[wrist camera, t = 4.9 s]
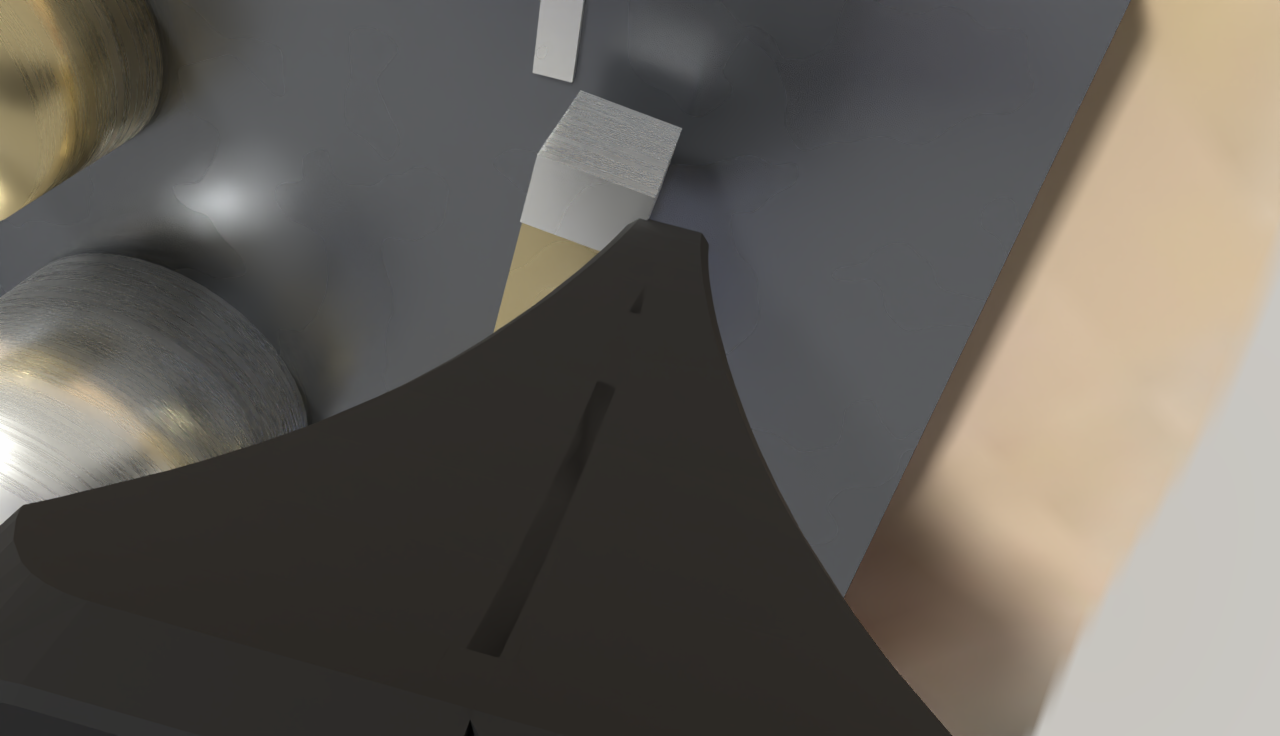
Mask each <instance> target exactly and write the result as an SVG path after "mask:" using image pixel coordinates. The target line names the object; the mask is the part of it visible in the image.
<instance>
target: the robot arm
mask: <svg viewBox="0 0 1280 736" xmlns="http://www.w3.org/2000/svg"><path fill="white" fill-rule="evenodd" d="M708 252H709V243H708V242H707V240H706V238H705V237H704V235H703V234H702V233H701V232H697V231H693V230H690V229H686V228H682V227H678V226H674V225H670V224H666V223H662V222H658V221H655V220H651V219H647V220H644V219H641V218H639V219H637V220H635V221H633V222H632V223H630V224H628V225H626V227H625V228H624V229H623V230H622V231H621V232H620V233H619V234H618V235H617V236H616V237H615V238H614V239H613V240H612V241H611V242H610V243H609V244H608V245H606V246H605V247H604V248H603V249H602V250H601V251H600V252H599V253H598V254H597V255H595V256H594V257H593V258H592V259H591V260H590V261H589V262H587V263H586V264H585V265H584V266H583V267H582V268H581V269H579V270H578V271H577V272H576V273H574V274H573V275H572V276H571V277H569V278H568V279H567V280H566V281H564V282H563V283H562V284H561V285H559V286H558V287H557V288H555V289H554V290H553V291H552V292H550V293H549V294H548V295H547V296H545V297H544V298H543V299H542V300H540V301H539V302H537V303H536V304H535V305H533V306H532V307H531V308H529V309H528V310H526V311H525V312H523V313H522V314H520V315H519V316H517V317H516V318H514V319H513V320H512V321H510V322H509V323H507V324H506V325H504V326H503V327H501V328H500V329H498V330H497V331H495V332H494V333H492V334H491V335H489V336H488V337H486V338H485V339H483V340H482V341H480V342H479V343H477V344H475V345H474V346H472V347H470V348H469V349H467V350H465V351H464V352H462V353H460V354H459V355H457V356H455V357H454V358H452V359H450V360H448V361H447V362H445V363H443V364H441V365H439V366H438V367H436V368H434V369H432V370H430V371H428V372H426V373H424V374H423V375H421V376H419V377H417V378H415V379H413V380H411V381H409V382H407V383H405V384H403V385H401V386H399V387H397V388H395V389H393V390H391V391H388V392H386V393H384V394H382V395H380V396H378V397H375V398H373V399H371V400H368V401H366V402H364V403H361V404H359V405H357V406H354V407H352V408H350V409H347V410H345V411H343V412H340V413H338V414H335V415H333V416H331V417H328V418H326V419H324V420H321V421H319V422H316V423H314V424H311V425H308V426H306V427H303V428H300V429H297V430H295V431H292V432H289V433H286V434H283V435H280V436H277V437H275V438H272V439H269V440H266V441H263V442H260V443H257V444H254V445H251V446H248V447H245V448H241V449H238V450H235V451H232V452H229V453H226V454H222V455H219V456H216V457H213V458H210V459H206V460H203V461H200V462H196V463H193V464H189V465H185V466H182V467H178V468H175V469H171V470H168V471H164V472H160V473H156V474H151V475H147V476H143V477H139V478H135V479H131V480H127V481H123V482H119V483H115V484H111V485H107V486H103V487H99V488H94V489H90V490H86V491H82V492H78V493H74V494H70V495H66V496H62V497H58V498H53V499H49V500H44V501H39V502H35V503H30V504H25V505H22V506H21V507H20V508H19V509H18V510H17V511H16V512H14V513H13V514H12V515H11V516H10V517H9V518H8V519H7V520H6V521H4V522H3V523H2V524H1V525H0V736H952V735H951V734H950V733H949V732H948V730H947V729H946V728H945V727H944V726H943V725H942V723H941V722H940V721H939V720H938V719H937V718H936V716H935V715H934V714H933V713H932V712H931V711H930V709H929V708H928V707H927V706H926V705H925V703H924V702H923V701H922V700H921V699H920V698H919V696H918V695H917V694H916V693H915V692H914V691H913V689H912V688H911V687H910V686H909V685H908V684H907V682H906V681H905V680H904V679H903V678H902V677H901V675H900V674H899V673H898V672H897V671H896V670H895V668H894V667H893V666H892V664H891V663H890V662H889V661H888V659H887V658H886V657H885V656H884V654H883V653H882V652H881V650H880V649H879V647H878V646H877V645H876V643H875V642H874V641H873V639H872V638H871V637H870V635H869V634H868V633H867V631H866V630H865V628H864V627H863V626H862V624H861V623H860V622H859V620H858V619H857V618H856V616H855V615H854V614H853V612H852V610H851V609H850V607H849V606H848V604H847V603H846V601H845V599H844V598H843V596H842V595H841V593H840V592H839V590H838V588H837V587H836V585H835V584H834V582H833V581H832V579H831V577H830V576H829V574H828V573H827V571H826V570H825V568H824V566H823V565H822V563H821V562H820V560H819V559H818V557H817V555H816V554H815V552H814V551H813V549H812V548H811V546H810V544H809V543H808V541H807V540H806V538H805V537H804V535H803V533H802V531H801V530H800V528H799V526H798V524H797V522H796V520H795V519H794V517H793V515H792V513H791V511H790V509H789V507H788V505H787V504H786V502H785V500H784V498H783V496H782V494H781V492H780V490H779V489H778V487H777V485H776V482H775V480H774V478H773V476H772V474H771V472H770V470H769V468H768V466H767V464H766V461H765V459H764V457H763V455H762V453H761V451H760V448H759V446H758V444H757V441H756V439H755V437H754V434H753V432H752V429H751V427H750V424H749V422H748V419H747V417H746V414H745V411H744V409H743V406H742V403H741V400H740V397H739V395H738V392H737V389H736V386H735V383H734V380H733V377H732V374H731V371H730V367H729V364H728V361H727V357H726V354H725V350H724V346H723V342H722V338H721V334H720V331H719V327H718V323H717V319H716V314H715V309H714V304H713V298H712V292H711V286H710V278H709V266H708Z"/></svg>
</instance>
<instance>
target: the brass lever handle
mask: <svg viewBox="0 0 1280 736" xmlns="http://www.w3.org/2000/svg"><path fill="white" fill-rule="evenodd" d="M681 130H682V128H680V127H678V126H675V125H672V124H670V123H667V122H664V121H662V120H659V119H656V118H654V117H651V116H648V115H645V114H643V113H640V112H637V111H635V110H632V109H629V108H627V107H624V106H621V105H619V104H616V103H613V102H611V101H608V100H605V99H603V98H600V97H597V96H595V95H592V94H589V93H587V92H584V91H581V90H580V92H579V93H578V95H577V96H576V98H575V99H574V101H573V102H572V104H571V105H570V107H569V108H568V110H567V111H566V112H565V114H564V115H563V117H562V118H561V120H560V121H559V123H558V124H557V126H556V127H555V129H554V130H553V132H552V133H551V135H550V136H549V138H548V139H547V141H546V142H545V144H544V145H543V147H542V148H541V150H540V151H539V153H538V154H537V158H536V161H535V165H534V169H533V173H532V177H531V181H530V185H529V189H528V192H527V196H526V200H525V204H524V208H523V212H522V216H521V220H520V222H521V223H522V225H521V228H520V232H519V236H518V240H517V244H516V248H515V252H514V255H513V259H512V263H511V267H510V271H509V275H508V279H507V282H506V286H505V290H504V294H503V298H502V302H501V306H500V309H499V313H498V317H497V321H496V325H495V329H494V332H495V331H497V330H498V329H500V328H501V327H503V326H504V325H506V324H507V323H509V322H510V321H512V320H513V319H514V318H516V317H517V316H519V315H520V314H522V313H523V312H525V311H526V310H528V309H529V308H531V307H532V306H533V305H535V304H536V303H537V302H539V301H540V300H542V299H543V298H544V297H545V296H547V295H548V294H549V293H550V292H552V291H553V290H554V289H555V288H557V287H558V286H559V285H561V284H562V283H563V282H564V281H566V280H567V279H568V278H569V277H571V276H572V275H573V274H574V273H576V272H577V271H578V270H579V269H581V268H582V267H583V266H584V265H585V264H586V263H587V262H589V261H590V260H591V259H592V258H593V257H594V256H595V255H597V254H598V253H599V252H600V251H601V250H602V249H603V248H604V247H605V246H606V245H608V244H609V243H610V242H611V241H612V240H613V239H614V238H615V237H616V236H617V235H618V234H619V233H620V232H621V231H622V230H623V229H624V228H625V227H626V225H628V224H630V223H632V222H633V221H635V220H637V219H639V218H641V219H644V220H647V219H649V218H650V215H651V213H652V210H653V207H654V205H655V202H656V200H657V197H658V195H659V192H660V189H661V187H662V184H663V181H664V178H665V175H666V173H667V170H668V167H669V164H670V161H671V159H672V156H673V153H674V150H675V147H676V144H677V142H678V139H679V136H680V133H681Z"/></svg>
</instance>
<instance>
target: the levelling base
mask: <svg viewBox="0 0 1280 736" xmlns="http://www.w3.org/2000/svg"><path fill="white" fill-rule="evenodd" d="M1130 1H1131V0H0V525H1V524H2V523H3V522H4V521H6V520H7V519H8V518H9V517H10V516H11V515H12V514H13V513H14V512H16V511H17V510H18V509H19V508H20V507H21V506H22V505H25V504H30V503H35V502H39V501H44V500H49V499H53V498H58V497H62V496H66V495H70V494H74V493H78V492H82V491H86V490H90V489H94V488H99V487H103V486H107V485H111V484H115V483H119V482H123V481H127V480H131V479H135V478H139V477H143V476H147V475H151V474H156V473H160V472H164V471H168V470H171V469H175V468H178V467H182V466H185V465H189V464H193V463H196V462H200V461H203V460H206V459H210V458H213V457H216V456H219V455H222V454H226V453H229V452H232V451H235V450H238V449H241V448H245V447H248V446H251V445H254V444H257V443H260V442H263V441H266V440H269V439H272V438H275V437H277V436H280V435H283V434H286V433H289V432H292V431H295V430H297V429H300V428H303V427H306V426H308V425H311V424H314V423H316V422H319V421H321V420H324V419H326V418H328V417H331V416H333V415H335V414H338V413H340V412H343V411H345V410H347V409H350V408H352V407H354V406H357V405H359V404H361V403H364V402H366V401H368V400H371V399H373V398H375V397H378V396H380V395H382V394H384V393H386V392H388V391H391V390H393V389H395V388H397V387H399V386H401V385H403V384H405V383H407V382H409V381H411V380H413V379H415V378H417V377H419V376H421V375H423V374H424V373H426V372H428V371H430V370H432V369H434V368H436V367H438V366H439V365H441V364H443V363H445V362H447V361H448V360H450V359H452V358H454V357H455V356H457V355H459V354H460V353H462V352H464V351H465V350H467V349H469V348H470V347H472V346H474V345H475V344H477V343H479V342H480V341H482V340H483V339H485V338H486V337H488V336H489V335H491V334H492V333H494V329H495V325H496V321H497V317H498V313H499V309H500V306H501V302H502V298H503V294H504V290H505V286H506V282H507V279H508V275H509V271H510V267H511V263H512V259H513V255H514V252H515V248H516V244H517V240H518V236H519V232H520V228H521V225H522V223H521V222H520V220H521V216H522V212H523V208H524V204H525V200H526V196H527V192H528V189H529V185H530V181H531V177H532V173H533V169H534V165H535V161H536V158H537V154H538V153H539V151H540V150H541V148H542V147H543V145H544V144H545V142H546V141H547V139H548V138H549V136H550V135H551V133H552V132H553V130H554V129H555V127H556V126H557V124H558V123H559V121H560V120H561V118H562V117H563V115H564V114H565V112H566V111H567V110H568V108H569V107H570V105H571V104H572V102H573V101H574V99H575V98H576V96H577V95H578V93H579V92H580V90H581V91H584V92H587V93H589V94H592V95H595V96H597V97H600V98H603V99H605V100H608V101H611V102H613V103H616V104H619V105H621V106H624V107H627V108H629V109H632V110H635V111H637V112H640V113H643V114H645V115H648V116H651V117H654V118H656V119H659V120H662V121H664V122H667V123H670V124H672V125H675V126H678V127H680V128H682V130H681V133H680V136H679V139H678V142H677V144H676V147H675V150H674V153H673V156H672V159H671V161H670V164H669V167H668V170H667V173H666V175H665V178H664V181H663V184H662V187H661V189H660V192H659V195H658V197H657V200H656V202H655V205H654V207H653V210H652V213H651V215H650V218H649V219H651V220H655V221H658V222H662V223H666V224H670V225H674V226H678V227H682V228H686V229H690V230H693V231H697V232H701V233H702V234H703V235H704V237H705V238H706V240H707V242H708V243H709V252H708V266H709V278H710V286H711V292H712V298H713V304H714V309H715V314H716V319H717V323H718V327H719V331H720V334H721V338H722V342H723V346H724V350H725V354H726V357H727V361H728V364H729V367H730V371H731V374H732V377H733V380H734V383H735V386H736V389H737V392H738V395H739V397H740V400H741V403H742V406H743V409H744V411H745V414H746V417H747V419H748V422H749V424H750V427H751V429H752V432H753V434H754V437H755V439H756V441H757V444H758V446H759V448H760V451H761V453H762V455H763V457H764V459H765V461H766V464H767V466H768V468H769V470H770V472H771V474H772V476H773V478H774V480H775V482H776V485H777V487H778V489H779V490H780V492H781V494H782V496H783V498H784V500H785V502H786V504H787V505H788V507H789V509H790V511H791V513H792V515H793V517H794V519H795V520H796V522H797V524H798V526H799V528H800V530H801V531H802V533H803V535H804V537H805V538H806V540H807V541H808V543H809V544H810V546H811V548H812V549H813V551H814V552H815V554H816V555H817V557H818V559H819V560H820V562H821V563H822V565H823V566H824V568H825V570H826V571H827V573H828V574H829V576H830V577H831V579H832V581H833V582H834V584H835V585H836V587H837V588H838V590H839V592H840V593H841V595H842V596H843V598H844V596H845V594H846V592H847V590H848V588H849V586H850V584H851V582H852V579H853V577H854V575H855V573H856V571H857V569H858V567H859V565H860V563H861V561H862V559H863V557H864V554H865V552H866V550H867V548H868V546H869V544H870V542H871V540H872V538H873V536H874V534H875V532H876V530H877V527H878V525H879V523H880V521H881V519H882V517H883V515H884V513H885V511H886V509H887V507H888V505H889V502H890V500H891V498H892V496H893V494H894V492H895V490H896V488H897V486H898V484H899V482H900V480H901V477H902V475H903V473H904V471H905V469H906V467H907V465H908V463H909V461H910V459H911V457H912V455H913V452H914V450H915V448H916V446H917V444H918V442H919V440H920V438H921V436H922V434H923V432H924V430H925V428H926V425H927V423H928V421H929V419H930V417H931V415H932V413H933V411H934V409H935V407H936V405H937V403H938V400H939V398H940V396H941V394H942V392H943V390H944V388H945V386H946V384H947V382H948V380H949V378H950V375H951V373H952V371H953V369H954V367H955V365H956V363H957V361H958V359H959V357H960V355H961V353H962V350H963V348H964V346H965V344H966V342H967V340H968V338H969V336H970V334H971V332H972V330H973V328H974V326H975V323H976V321H977V319H978V317H979V315H980V313H981V311H982V309H983V307H984V305H985V303H986V301H987V298H988V296H989V294H990V292H991V290H992V288H993V286H994V284H995V282H996V280H997V278H998V276H999V273H1000V271H1001V269H1002V267H1003V265H1004V263H1005V261H1006V259H1007V257H1008V255H1009V253H1010V251H1011V248H1012V246H1013V244H1014V242H1015V240H1016V238H1017V236H1018V234H1019V232H1020V230H1021V228H1022V226H1023V224H1024V221H1025V219H1026V217H1027V215H1028V213H1029V211H1030V209H1031V207H1032V205H1033V203H1034V201H1035V199H1036V196H1037V194H1038V192H1039V190H1040V188H1041V186H1042V184H1043V182H1044V180H1045V178H1046V176H1047V174H1048V171H1049V169H1050V167H1051V165H1052V163H1053V161H1054V159H1055V157H1056V155H1057V153H1058V151H1059V149H1060V146H1061V144H1062V142H1063V140H1064V138H1065V136H1066V134H1067V132H1068V130H1069V128H1070V126H1071V124H1072V122H1073V119H1074V117H1075V115H1076V113H1077V111H1078V109H1079V107H1080V105H1081V103H1082V101H1083V99H1084V97H1085V94H1086V92H1087V90H1088V88H1089V86H1090V84H1091V82H1092V80H1093V78H1094V76H1095V74H1096V72H1097V69H1098V67H1099V65H1100V63H1101V61H1102V59H1103V57H1104V55H1105V53H1106V51H1107V49H1108V47H1109V44H1110V42H1111V40H1112V38H1113V36H1114V34H1115V32H1116V30H1117V28H1118V26H1119V24H1120V22H1121V20H1122V17H1123V15H1124V13H1125V11H1126V9H1127V7H1128V5H1129V3H1130Z"/></svg>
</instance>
